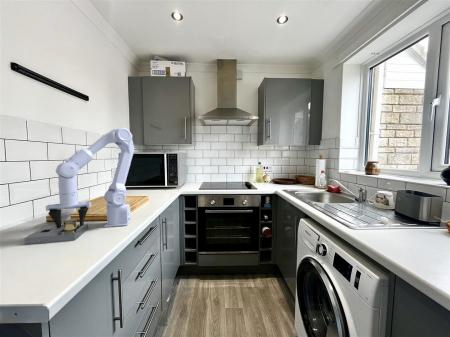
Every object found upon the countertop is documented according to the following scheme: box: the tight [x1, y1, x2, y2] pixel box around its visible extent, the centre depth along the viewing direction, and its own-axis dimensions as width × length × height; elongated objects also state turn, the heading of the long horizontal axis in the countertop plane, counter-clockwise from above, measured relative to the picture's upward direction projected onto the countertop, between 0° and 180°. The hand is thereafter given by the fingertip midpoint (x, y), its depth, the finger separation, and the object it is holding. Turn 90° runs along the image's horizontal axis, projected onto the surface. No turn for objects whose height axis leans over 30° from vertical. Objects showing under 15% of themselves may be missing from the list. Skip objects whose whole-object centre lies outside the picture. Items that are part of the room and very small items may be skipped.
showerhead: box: [61, 208, 77, 225], centre depth 96 cm, size 9×7×10 cm
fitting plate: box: [24, 222, 90, 246], centre depth 82 cm, size 16×12×3 cm
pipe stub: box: [63, 218, 78, 232], centre depth 82 cm, size 4×4×6 cm
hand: (70, 226), depth 83 cm, fingers open, 7 cm apart
